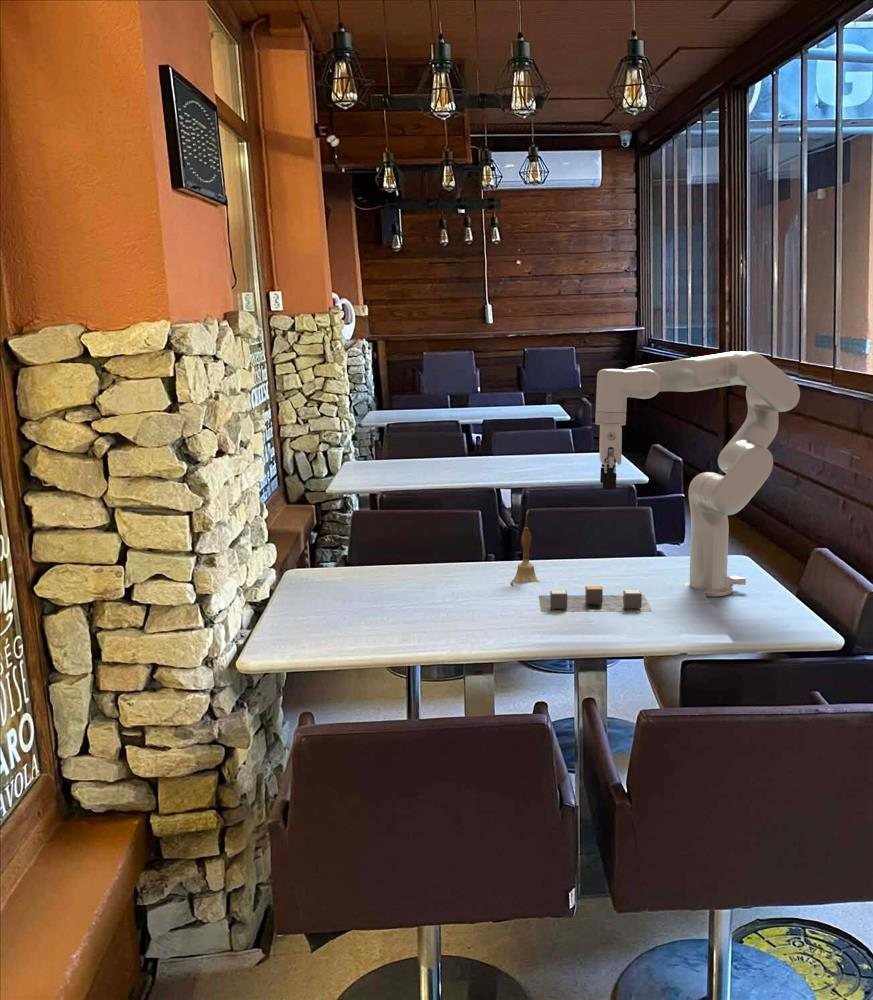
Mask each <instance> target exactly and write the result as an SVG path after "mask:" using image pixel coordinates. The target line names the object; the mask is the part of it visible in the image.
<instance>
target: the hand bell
mask: <svg viewBox="0 0 873 1000" xmlns="http://www.w3.org/2000/svg"><path fill="white" fill-rule="evenodd" d="M531 542H532V536H531V532H530V528H529V527H527V526H526V527H523V529H522V533H521V545H522V552H523V553H522V554H523V555H522V562H520V563H518V564H517V570H516V574H515V576H514V577H513V579H512V580H511V581H510V585H512V586H514V583H541V581H540V580H539V579H538V577H537V575H536V571H535V565H534V564H533V563H532V562H530V547H531Z"/></svg>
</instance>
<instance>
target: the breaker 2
mask: <svg viewBox="0 0 873 1000" xmlns="http://www.w3.org/2000/svg"><path fill="white" fill-rule="evenodd" d="M622 595H623V605H624V607H625V608H641V605H642V595H643V594H642V592H641V590H639V589H638V590H637V589H624V590H623V594H622Z"/></svg>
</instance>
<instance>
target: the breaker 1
mask: <svg viewBox="0 0 873 1000" xmlns="http://www.w3.org/2000/svg"><path fill="white" fill-rule="evenodd" d="M549 593H550V594H549V595H550V606H551V608H567V595H568V592H567V590H549Z"/></svg>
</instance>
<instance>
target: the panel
mask: <svg viewBox="0 0 873 1000" xmlns="http://www.w3.org/2000/svg"><path fill="white" fill-rule="evenodd" d="M538 598H539V599H538V600H539V607H540V612H541V613H551V612H553V613H554V612H555V613H557V612H558V613H560V612H561V613H562V612H563V613H566V612H568V613H574V612H575V613H579V612H580V613H583V612H585V613H586V612H587V613H588V612H589V613H590V612H592V613H593V612H598V613H599V612H603V613H607V612H609V613H611V612H614V613H616V612H620V613H621V612H622V613H623V612H636V613H637V612H652V613H653V609H652V607H651V606H650V604H649V602H648V600H647V597H646V596H645V594H642V605H641V608H625V607H624V605H623V594H612V595H611V594H605V595H604V594H603V603H586V600H585V594H584V595H583V594H581V595H580V594H578V595H577V594H575V595H573V594H572V595H570V594H569V595H568V594H567V608H551V606H550V594H549V595H547V594H546V595H545V594H544V595H538Z"/></svg>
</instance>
